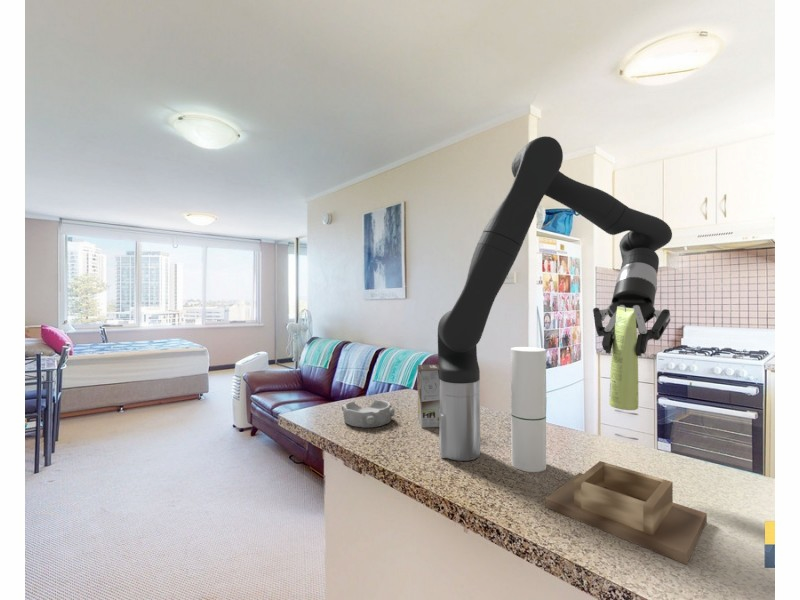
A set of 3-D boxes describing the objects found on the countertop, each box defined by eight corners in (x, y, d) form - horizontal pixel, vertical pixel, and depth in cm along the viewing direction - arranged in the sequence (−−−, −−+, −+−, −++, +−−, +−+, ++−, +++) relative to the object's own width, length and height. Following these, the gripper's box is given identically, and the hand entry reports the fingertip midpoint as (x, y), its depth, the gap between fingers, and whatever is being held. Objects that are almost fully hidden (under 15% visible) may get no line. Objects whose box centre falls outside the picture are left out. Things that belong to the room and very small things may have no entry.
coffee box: (444, 427, 109) (443, 369, 109) (421, 428, 108) (420, 370, 108) (438, 416, 118) (437, 363, 118) (417, 417, 118) (416, 364, 117)
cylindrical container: (545, 460, 87) (545, 347, 86) (546, 474, 80) (546, 352, 80) (512, 456, 89) (511, 346, 89) (510, 469, 82) (509, 350, 82)
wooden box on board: (545, 507, 68) (545, 475, 68) (579, 480, 77) (579, 452, 77) (686, 564, 53) (686, 524, 53) (706, 522, 63) (706, 488, 63)
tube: (647, 408, 75) (647, 307, 75) (633, 413, 72) (634, 307, 72) (616, 402, 80) (617, 306, 80) (603, 406, 77) (603, 307, 77)
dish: (336, 419, 117) (336, 403, 117) (376, 411, 125) (376, 396, 125) (358, 434, 105) (358, 415, 105) (401, 424, 112) (401, 406, 112)
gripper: (595, 276, 86) (578, 336, 77) (674, 274, 77) (666, 342, 68) (601, 300, 90) (586, 360, 81) (677, 301, 81) (669, 368, 72)
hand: (622, 351), depth 75 cm, fingers closed on tube, 4 cm apart
